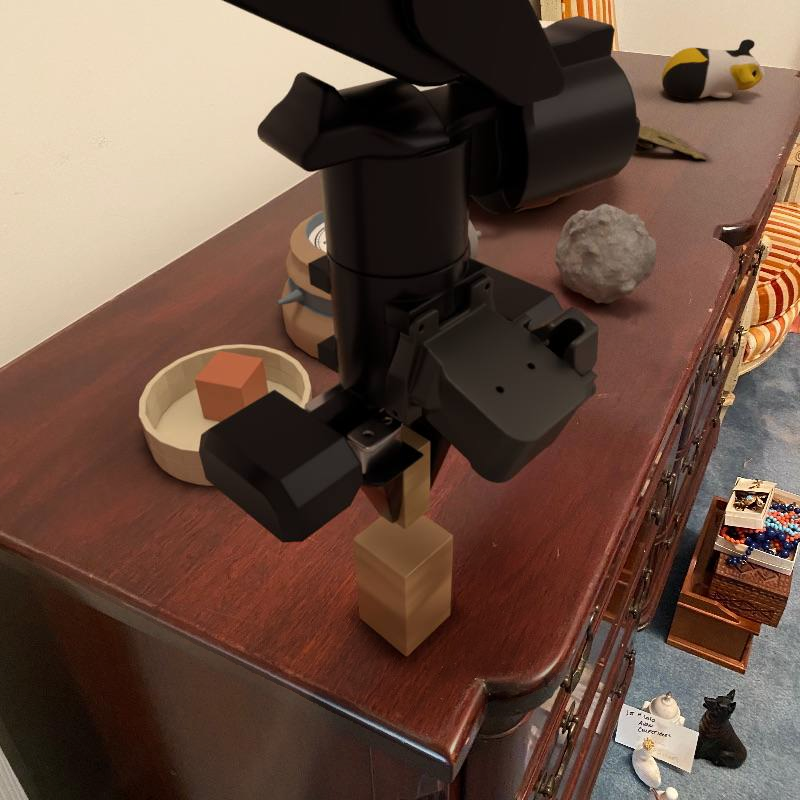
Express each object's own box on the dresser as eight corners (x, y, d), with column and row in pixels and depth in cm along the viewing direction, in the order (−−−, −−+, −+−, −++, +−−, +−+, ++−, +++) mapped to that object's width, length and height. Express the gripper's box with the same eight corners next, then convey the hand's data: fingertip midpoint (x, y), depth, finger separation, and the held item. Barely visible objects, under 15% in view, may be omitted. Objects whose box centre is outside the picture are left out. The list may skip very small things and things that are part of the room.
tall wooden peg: (405, 530, 40) (403, 461, 36) (378, 511, 41) (374, 442, 38) (430, 509, 41) (431, 440, 38) (403, 490, 42) (401, 422, 39)
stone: (647, 288, 76) (668, 193, 69) (642, 324, 71) (664, 226, 64) (554, 274, 78) (565, 181, 72) (542, 309, 73) (554, 212, 67)
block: (248, 427, 60) (240, 388, 58) (203, 418, 61) (193, 379, 59) (269, 396, 63) (263, 358, 61) (226, 388, 64) (218, 350, 62)
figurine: (764, 106, 115) (780, 50, 110) (662, 104, 116) (673, 49, 111) (751, 89, 121) (766, 35, 116) (655, 87, 123) (665, 33, 118)
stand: (406, 657, 45) (404, 578, 40) (359, 618, 47) (352, 538, 42) (450, 615, 47) (454, 535, 42) (403, 579, 49) (401, 499, 44)
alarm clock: (232, 252, 64) (358, 154, 80) (248, 342, 70) (363, 234, 86) (417, 295, 58) (514, 179, 74) (418, 389, 64) (507, 263, 80)
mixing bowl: (214, 514, 54) (205, 479, 51) (117, 430, 61) (105, 396, 58) (348, 423, 61) (345, 390, 59) (247, 358, 68) (241, 325, 66)
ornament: (699, 160, 96) (594, 116, 101) (690, 178, 97) (587, 133, 102) (719, 149, 103) (620, 108, 109) (711, 165, 105) (614, 125, 110)
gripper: (374, 455, 21) (390, 730, 31) (694, 223, 31) (629, 486, 41) (154, 309, 27) (226, 579, 37) (483, 154, 37) (470, 398, 47)
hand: (403, 506), depth 41 cm, fingers closed on tall wooden peg, 2 cm apart
